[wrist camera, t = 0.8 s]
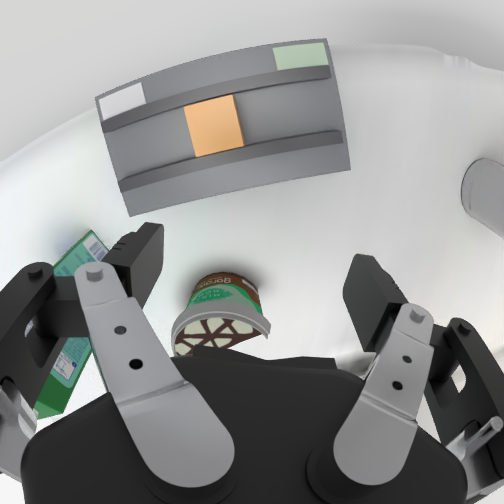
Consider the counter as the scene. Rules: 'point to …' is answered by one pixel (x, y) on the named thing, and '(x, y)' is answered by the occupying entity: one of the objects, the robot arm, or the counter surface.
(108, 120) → the switch plate
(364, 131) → the counter surface
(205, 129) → the switch knob
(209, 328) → the food container
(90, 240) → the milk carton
